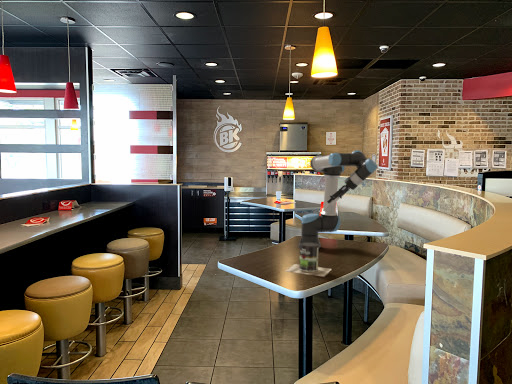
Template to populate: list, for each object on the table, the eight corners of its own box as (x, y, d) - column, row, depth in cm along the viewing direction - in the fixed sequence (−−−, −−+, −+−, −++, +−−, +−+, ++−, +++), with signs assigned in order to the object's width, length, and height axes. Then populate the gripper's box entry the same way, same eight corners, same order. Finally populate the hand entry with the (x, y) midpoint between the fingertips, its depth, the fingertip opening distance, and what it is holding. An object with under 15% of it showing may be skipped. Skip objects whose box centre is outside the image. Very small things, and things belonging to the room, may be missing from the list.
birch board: (284, 272, 213) (284, 270, 213) (294, 265, 227) (294, 264, 227) (324, 278, 204) (324, 276, 204) (331, 270, 218) (331, 268, 218)
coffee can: (310, 273, 208) (311, 247, 207) (295, 269, 215) (296, 243, 214) (321, 269, 215) (322, 244, 214) (306, 265, 222) (307, 241, 221)
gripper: (353, 187, 214) (325, 212, 222) (362, 184, 237) (336, 207, 245) (344, 177, 216) (317, 202, 224) (353, 175, 239) (328, 198, 247)
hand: (327, 204), depth 235 cm, fingers open, 13 cm apart
